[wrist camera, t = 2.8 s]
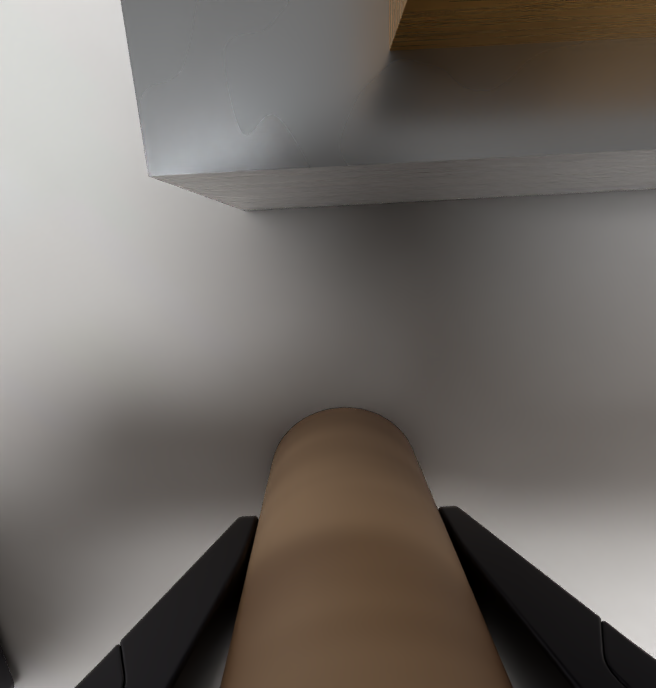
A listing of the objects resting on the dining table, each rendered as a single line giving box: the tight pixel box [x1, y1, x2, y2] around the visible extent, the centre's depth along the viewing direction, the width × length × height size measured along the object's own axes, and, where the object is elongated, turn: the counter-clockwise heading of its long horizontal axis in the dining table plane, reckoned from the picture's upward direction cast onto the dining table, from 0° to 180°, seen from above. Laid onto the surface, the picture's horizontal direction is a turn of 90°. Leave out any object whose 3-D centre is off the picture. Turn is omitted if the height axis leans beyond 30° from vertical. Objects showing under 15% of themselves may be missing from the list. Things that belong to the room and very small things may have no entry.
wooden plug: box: [220, 408, 513, 688], centre depth 6 cm, size 4×4×9 cm
